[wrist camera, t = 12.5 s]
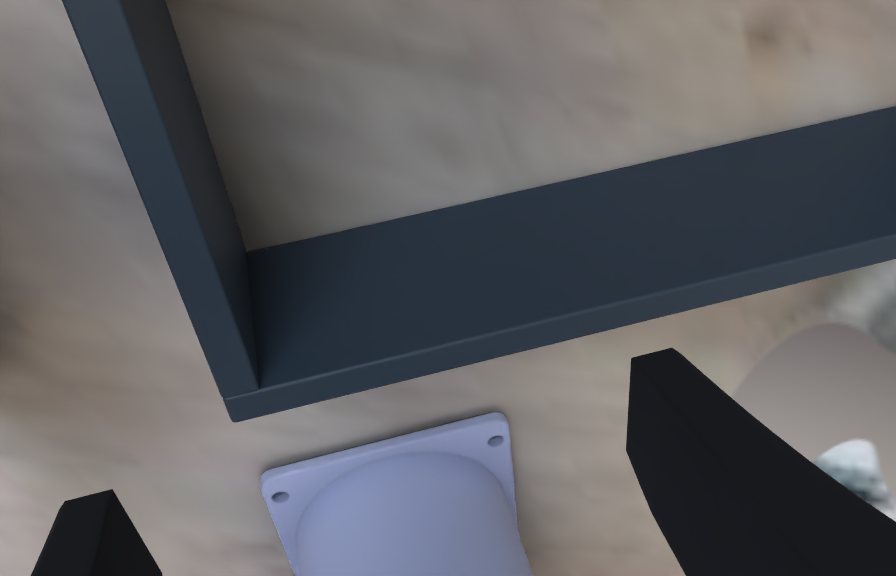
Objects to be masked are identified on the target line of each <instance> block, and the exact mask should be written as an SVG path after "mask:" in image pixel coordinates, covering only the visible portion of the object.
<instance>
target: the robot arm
mask: <svg viewBox="0 0 896 576" xmlns="http://www.w3.org/2000/svg"><path fill="white" fill-rule="evenodd" d="M494 436H495V437H494ZM492 437H493V438H492ZM626 451H627V454H628V456H629V459H630V461H631V464H632V466H633V469H634V471H635V474H636V476H637V479H638V481H639V484H640V486H641V489H642V491H643V493H644V496H645V498H646V500H647V503H648V505H649V507H650V510H651V512H652V514H653V516H654V518H655V520H656V522H657V524H658V526H659V527H660V529H661V531H662V533H663V535H664V537H665V538H666V540H667V542H668V544H669V546H670V547H671V549H672V551H673V553H674V555H675V557H676V558H677V560H678V562H679V564H680V566H681V567H682V569H683V571H684V573H685V575H686V576H896V522H895V521H894V520H892V519H891V518H889V517H888V516H886V515H885V514H883V513H882V512H880V511H879V510H877V509H876V508H874V507H873V506H871V505H870V504H868V503H867V502H865V501H864V500H863V499H861V498H860V497H858V496H857V495H856V494H854V493H853V492H851V491H850V490H849V489H847V488H846V487H844V486H843V485H842V484H840V483H839V482H837V481H836V480H835V479H833V478H832V477H830V476H829V475H828V474H826V473H825V472H824V471H822V470H821V469H820V468H818V467H817V466H816V465H814V464H813V463H812V462H810V461H809V460H808V459H806V458H805V457H804V456H803V455H801V454H800V453H799V452H797V451H796V450H795V449H793V448H792V447H791V446H790V445H788V444H787V443H786V442H785V441H783V440H782V439H781V438H779V437H778V436H777V435H775V434H774V433H773V432H772V431H771V430H769V429H768V428H767V427H766V426H764V425H763V424H762V423H761V422H760V421H758V420H757V419H756V418H755V417H753V416H752V415H751V414H750V413H748V412H747V411H746V410H745V409H744V408H743V407H741V406H740V405H739V404H738V403H737V402H735V401H734V400H733V399H732V398H731V397H730V396H728V395H727V394H726V393H725V392H724V391H723V390H721V389H720V388H719V387H718V386H717V385H716V384H715V383H713V382H712V381H711V380H710V379H709V378H708V377H706V376H705V375H704V374H703V373H702V372H701V371H700V370H699V369H697V368H696V367H695V366H694V365H693V364H692V363H691V362H689V361H688V360H687V359H686V358H685V357H684V356H683V355H681V354H680V353H679V352H678V351H676V350H675V349H673V348H669V349H665V350H661V351H657V352H653V353H649V354H645V355H641V356H637V357H633V358H631V371H630V389H629V407H628V424H627V442H626ZM260 488H261V492H262V495H263V497H264V500H265V502H266V505H267V507H268V510H269V512H270V515H271V517H272V520H273V522H274V525H275V527H276V530H277V532H278V535H279V537H280V540H281V542H282V545H283V547H284V550H285V552H286V555H287V557H288V560H289V562H290V565H291V567H292V570H293V572H294V575H295V576H534V575H533V573H532V570H531V567H530V564H529V562H528V559H527V556H526V553H525V550H524V548H523V545H522V542H521V539H520V537H519V534H518V523H517V511H516V499H515V488H514V476H513V464H512V453H511V441H510V429H509V424H508V422H507V419H506V417H505V415H503V414H502V413H498V412H493V413H488V414H484V415H480V416H476V417H472V418H468V419H464V420H460V421H456V422H453V423H449V424H445V425H441V426H437V427H433V428H429V429H425V430H421V431H417V432H413V433H410V434H406V435H402V436H398V437H394V438H390V439H386V440H382V441H378V442H374V443H370V444H366V445H363V446H359V447H355V448H351V449H347V450H343V451H339V452H335V453H331V454H327V455H323V456H320V457H316V458H312V459H308V460H304V461H300V462H296V463H292V464H288V465H284V466H280V467H277V468H273V469H270V470H268V471H266V472H265V473H263V474H262V476H261V477H260ZM278 492H280V493H278ZM31 576H162V572H161V570H160V569H159V567H158V565H157V564H156V562H155V560H154V559H153V557H152V555H151V554H150V552H149V550H148V549H147V547H146V545H145V543H144V542H143V540H142V538H141V537H140V535H139V533H138V532H137V530H136V528H135V527H134V525H133V523H132V521H131V520H130V518H129V516H128V515H127V513H126V511H125V510H124V508H123V506H122V505H121V503H120V501H119V499H118V498H117V496H116V494H115V493H114V491H113V489H111V490H107V491H103V492H100V493H96V494H92V495H88V496H84V497H80V498H76V499H72V500H68V501H65V502H64V504H63V505H62V506H61V508H60V509H59V512H58V514H57V516H56V519H55V521H54V524H53V526H52V528H51V531H50V533H49V535H48V538H47V540H46V542H45V545H44V547H43V549H42V552H41V554H40V556H39V558H38V561H37V563H36V565H35V568H34V570H33V572H32V574H31Z"/></svg>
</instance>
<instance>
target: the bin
mask: <svg viewBox="0 0 896 576" xmlns="http://www.w3.org/2000/svg"><path fill="white" fill-rule="evenodd" d="M62 2H63V4H64V7H65V9H66V12H67V14H68V17H69V19H70V21H71V24H72V26H73V29H74V31H75V34H76V36H77V39H78V41H79V44H80V46H81V49H82V51H83V54H84V56H85V59H86V61H87V64H88V66H89V69H90V71H91V74H92V76H93V79H94V81H95V84H96V86H97V89H98V91H99V94H100V96H101V99H102V101H103V103H104V106H105V108H106V111H107V113H108V116H109V118H110V121H111V123H112V126H113V128H114V131H115V133H116V136H117V138H118V141H119V143H120V146H121V148H122V151H123V153H124V156H125V158H126V161H127V163H128V166H129V168H130V171H131V173H132V176H133V178H134V181H135V183H136V186H137V188H138V190H139V193H140V195H141V198H142V200H143V203H144V205H145V208H146V210H147V213H148V215H149V218H150V220H151V223H152V225H153V228H154V230H155V233H156V235H157V238H158V240H159V243H160V245H161V248H162V250H163V253H164V255H165V258H166V260H167V263H168V265H169V268H170V270H171V272H172V275H173V277H174V280H175V282H176V285H177V287H178V290H179V292H180V295H181V297H182V300H183V302H184V305H185V307H186V310H187V312H188V315H189V317H190V320H191V322H192V325H193V327H194V330H195V332H196V335H197V337H198V340H199V342H200V345H201V347H202V350H203V352H204V354H205V357H206V359H207V362H208V364H209V367H210V369H211V372H212V374H213V377H214V379H215V382H216V384H217V387H218V389H219V392H220V394H221V396H222V397H223V401H224V403H225V406H226V408H227V411H228V413H229V416H230V418H231V420H232V421H233V422H240V421H244V420H248V419H252V418H256V417H260V416H264V415H268V414H272V413H276V412H280V411H284V410H288V409H292V408H296V407H300V406H304V405H308V404H312V403H316V402H320V401H324V400H328V399H332V398H337V397H341V396H345V395H349V394H353V393H357V392H361V391H365V390H369V389H373V388H377V387H381V386H385V385H389V384H393V383H397V382H401V381H405V380H409V379H413V378H417V377H421V376H425V375H429V374H433V373H437V372H441V371H445V370H449V369H453V368H457V367H461V366H465V365H470V364H474V363H478V362H482V361H486V360H490V359H494V358H498V357H502V356H506V355H510V354H514V353H518V352H522V351H526V350H530V349H534V348H538V347H542V346H546V345H550V344H554V343H558V342H562V341H566V340H570V339H574V338H578V337H582V336H586V335H590V334H594V333H598V332H602V331H607V330H611V329H615V328H619V327H623V326H627V325H631V324H635V323H639V322H643V321H647V320H651V319H655V318H659V317H663V316H667V315H671V314H675V313H679V312H683V311H687V310H691V309H695V308H699V307H703V306H707V305H711V304H715V303H719V302H723V301H727V300H731V299H735V298H740V297H744V296H748V295H752V294H756V293H760V292H764V291H768V290H772V289H776V288H780V287H784V286H788V285H792V284H796V283H800V282H804V281H808V280H812V279H816V278H820V277H824V276H828V275H832V274H836V273H840V272H844V271H848V270H852V269H856V268H860V267H864V266H868V265H873V264H877V263H881V262H885V261H889V260H893V259H896V106H895V107H891V108H887V109H882V110H878V111H873V112H869V113H864V114H860V115H856V116H851V117H847V118H842V119H838V120H833V121H829V122H824V123H820V124H816V125H811V126H807V127H802V128H798V129H793V130H789V131H785V132H780V133H776V134H771V135H767V136H762V137H758V138H754V139H749V140H745V141H740V142H736V143H731V144H727V145H722V146H718V147H714V148H709V149H705V150H700V151H696V152H691V153H687V154H683V155H678V156H674V157H669V158H665V159H660V160H656V161H652V162H647V163H643V164H638V165H634V166H629V167H625V168H620V169H616V170H612V171H607V172H603V173H598V174H594V175H589V176H585V177H581V178H576V179H572V180H567V181H563V182H558V183H554V184H550V185H545V186H541V187H536V188H532V189H527V190H523V191H518V192H514V193H510V194H505V195H501V196H496V197H492V198H487V199H483V200H479V201H474V202H470V203H465V204H461V205H456V206H452V207H448V208H443V209H439V210H434V211H430V212H425V213H421V214H416V215H412V216H408V217H403V218H399V219H394V220H390V221H385V222H381V223H377V224H372V225H368V226H363V227H359V228H354V229H350V230H346V231H341V232H337V233H332V234H328V235H323V236H319V237H314V238H310V239H306V240H301V241H297V242H292V243H288V244H283V245H279V246H275V247H270V248H266V249H261V250H257V251H252V252H248V253H246V250H245V247H244V244H243V240H242V237H241V234H240V231H239V228H238V225H237V222H236V219H235V216H234V213H233V209H232V206H231V203H230V200H229V197H228V194H227V191H226V188H225V185H224V182H223V179H222V175H221V172H220V169H219V166H218V163H217V160H216V157H215V154H214V151H213V148H212V144H211V141H210V138H209V135H208V132H207V129H206V126H205V123H204V120H203V117H202V113H201V110H200V107H199V104H198V101H197V98H196V95H195V92H194V89H193V86H192V83H191V79H190V76H189V73H188V70H187V67H186V64H185V61H184V58H183V55H182V52H181V48H180V45H179V42H178V39H177V36H176V33H175V30H174V27H173V24H172V21H171V17H170V14H169V11H168V8H167V5H166V2H165V0H62Z"/></svg>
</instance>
